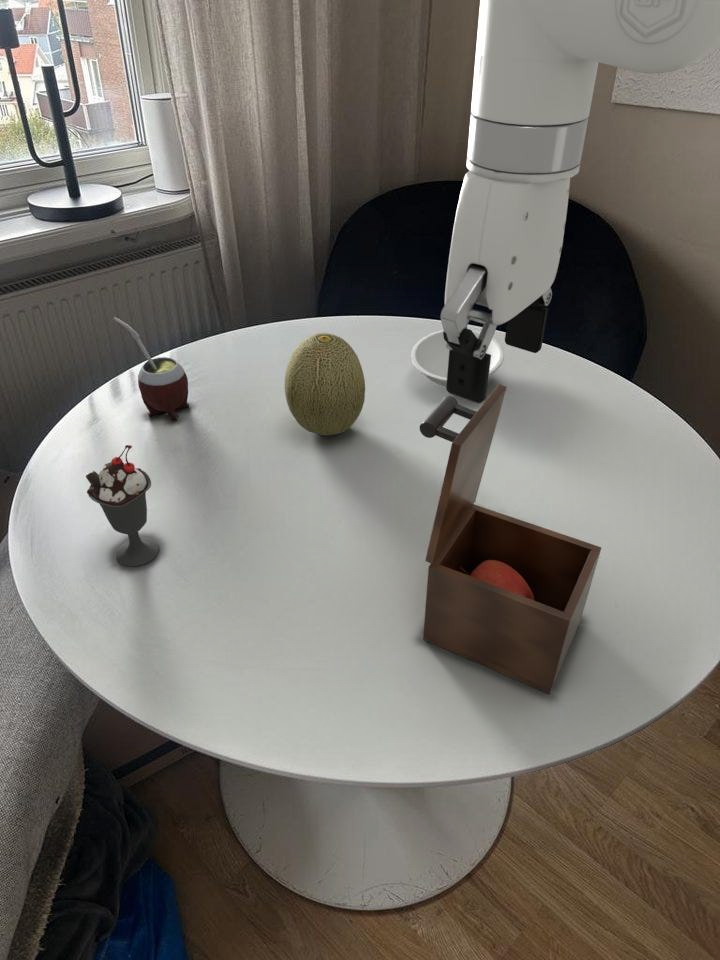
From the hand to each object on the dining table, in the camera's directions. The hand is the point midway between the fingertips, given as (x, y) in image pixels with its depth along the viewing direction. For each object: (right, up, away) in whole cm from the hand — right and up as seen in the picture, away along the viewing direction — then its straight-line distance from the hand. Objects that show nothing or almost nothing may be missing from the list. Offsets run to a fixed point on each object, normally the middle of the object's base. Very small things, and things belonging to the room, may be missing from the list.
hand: (495, 370), depth 57 cm
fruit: (-16, -1, +47) cm, 49 cm away
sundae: (-37, -18, +27) cm, 49 cm away
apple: (+6, -22, +13) cm, 27 cm away
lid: (-1, -9, +8) cm, 12 cm away
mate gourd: (-41, +1, +51) cm, 65 cm away
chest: (+4, -25, +17) cm, 30 cm away
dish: (+4, +7, +57) cm, 58 cm away
